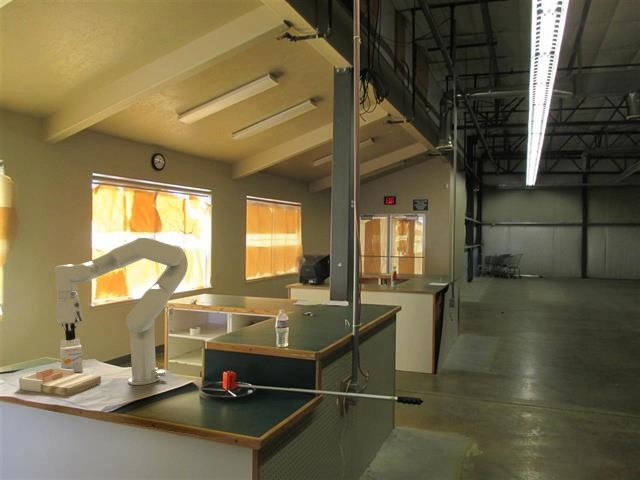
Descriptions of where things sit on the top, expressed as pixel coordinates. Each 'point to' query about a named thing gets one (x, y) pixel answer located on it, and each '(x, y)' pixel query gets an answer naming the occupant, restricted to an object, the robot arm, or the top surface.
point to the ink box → (71, 355)
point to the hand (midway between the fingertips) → (70, 339)
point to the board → (70, 384)
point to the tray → (34, 384)
